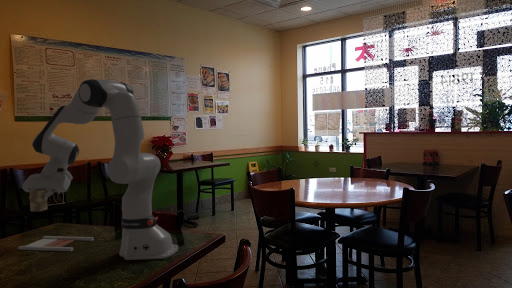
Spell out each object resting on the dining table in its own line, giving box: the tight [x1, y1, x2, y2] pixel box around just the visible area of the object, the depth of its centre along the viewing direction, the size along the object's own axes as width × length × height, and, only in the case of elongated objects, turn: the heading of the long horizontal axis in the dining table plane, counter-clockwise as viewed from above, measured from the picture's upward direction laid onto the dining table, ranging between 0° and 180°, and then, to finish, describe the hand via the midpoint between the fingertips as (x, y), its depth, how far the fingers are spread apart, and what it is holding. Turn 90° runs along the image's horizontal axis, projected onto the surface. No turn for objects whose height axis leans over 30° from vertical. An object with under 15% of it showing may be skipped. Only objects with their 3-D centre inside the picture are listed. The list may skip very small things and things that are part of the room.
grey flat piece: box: [17, 235, 95, 252], centre depth 154 cm, size 24×15×1 cm, turn 82°
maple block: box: [29, 190, 49, 212], centre depth 155 cm, size 4×4×8 cm
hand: (37, 199), depth 154 cm, fingers closed on maple block, 4 cm apart
